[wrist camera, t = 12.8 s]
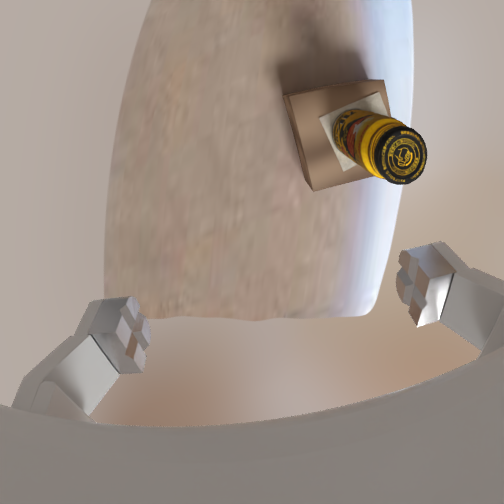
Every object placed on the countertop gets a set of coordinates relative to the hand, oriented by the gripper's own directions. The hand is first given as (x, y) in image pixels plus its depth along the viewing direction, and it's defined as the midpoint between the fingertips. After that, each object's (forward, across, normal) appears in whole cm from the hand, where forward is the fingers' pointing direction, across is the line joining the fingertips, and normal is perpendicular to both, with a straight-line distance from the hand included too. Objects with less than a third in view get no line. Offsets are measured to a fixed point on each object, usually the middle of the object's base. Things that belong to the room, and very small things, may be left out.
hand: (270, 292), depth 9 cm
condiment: (+27, -14, +1) cm, 31 cm away
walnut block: (+32, -12, +2) cm, 34 cm away
